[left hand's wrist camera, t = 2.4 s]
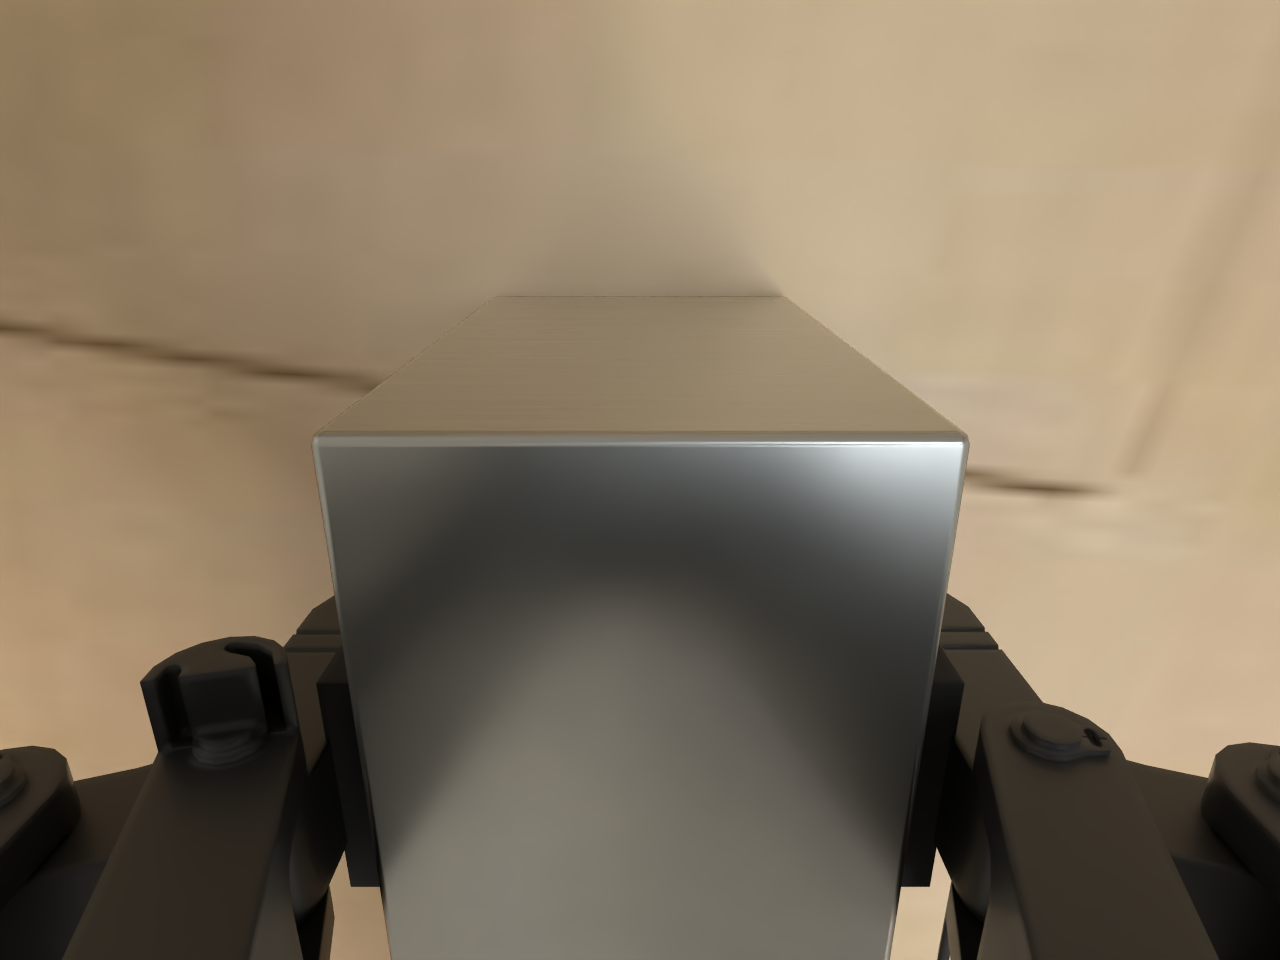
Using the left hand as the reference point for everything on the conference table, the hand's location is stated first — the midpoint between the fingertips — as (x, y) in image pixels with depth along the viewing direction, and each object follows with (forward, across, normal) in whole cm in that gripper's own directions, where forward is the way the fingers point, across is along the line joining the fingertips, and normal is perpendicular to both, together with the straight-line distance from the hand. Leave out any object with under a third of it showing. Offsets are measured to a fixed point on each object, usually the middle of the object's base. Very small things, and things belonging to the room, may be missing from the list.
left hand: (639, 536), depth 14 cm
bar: (+1, 0, -8) cm, 8 cm away
